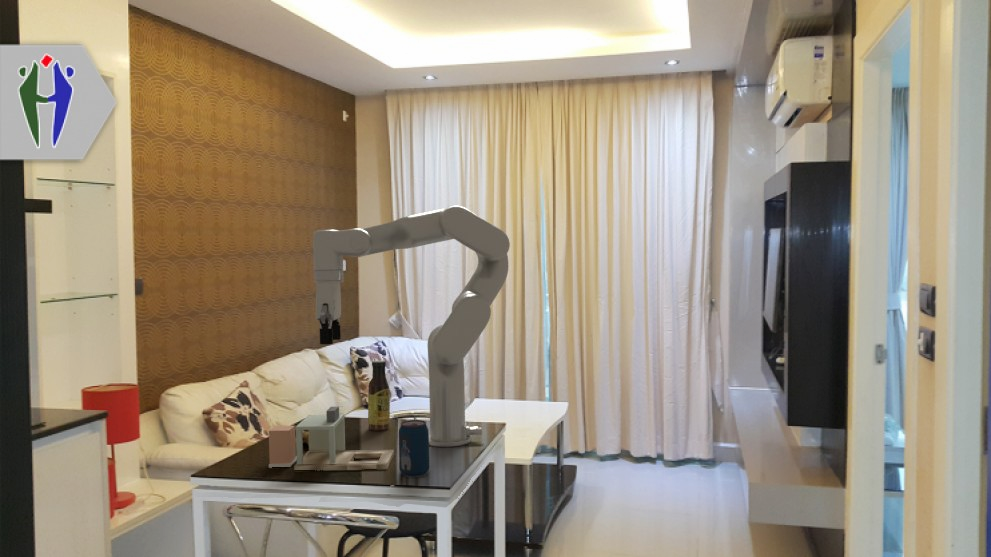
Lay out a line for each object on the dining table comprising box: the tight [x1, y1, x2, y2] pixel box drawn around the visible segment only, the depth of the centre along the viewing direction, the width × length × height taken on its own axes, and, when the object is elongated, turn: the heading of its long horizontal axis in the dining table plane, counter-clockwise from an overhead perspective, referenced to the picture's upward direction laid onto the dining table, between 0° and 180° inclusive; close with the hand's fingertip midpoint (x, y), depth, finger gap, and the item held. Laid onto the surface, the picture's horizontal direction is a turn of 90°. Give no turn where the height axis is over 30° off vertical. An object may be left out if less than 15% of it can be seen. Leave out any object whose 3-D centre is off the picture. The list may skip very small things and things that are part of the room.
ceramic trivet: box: [268, 455, 297, 469], centre depth 185 cm, size 5×7×1 cm
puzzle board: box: [293, 449, 395, 472], centre depth 185 cm, size 22×13×1 cm, turn 90°
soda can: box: [398, 419, 430, 478], centre depth 174 cm, size 7×7×12 cm
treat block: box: [268, 425, 297, 464], centre depth 185 cm, size 5×5×8 cm
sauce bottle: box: [367, 360, 391, 432], centre depth 219 cm, size 7×6×20 cm
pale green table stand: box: [295, 406, 346, 464], centre depth 185 cm, size 9×13×12 cm
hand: (330, 341), depth 197 cm, fingers open, 9 cm apart
